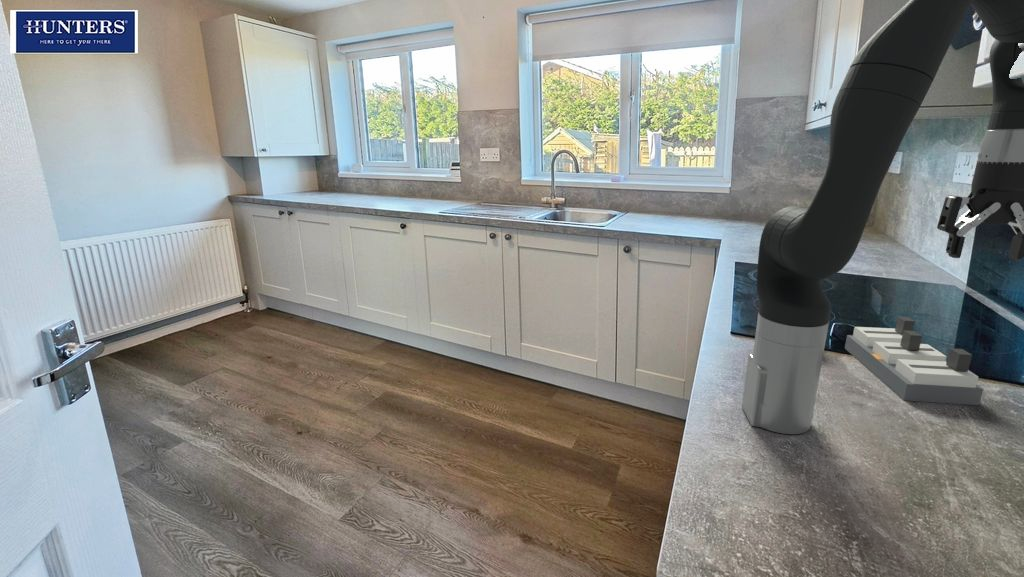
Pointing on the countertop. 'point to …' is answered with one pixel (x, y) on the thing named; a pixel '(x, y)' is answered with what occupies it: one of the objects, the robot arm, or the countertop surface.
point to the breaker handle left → (904, 324)
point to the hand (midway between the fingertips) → (983, 258)
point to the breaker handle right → (959, 360)
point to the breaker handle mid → (911, 340)
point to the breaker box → (912, 368)
